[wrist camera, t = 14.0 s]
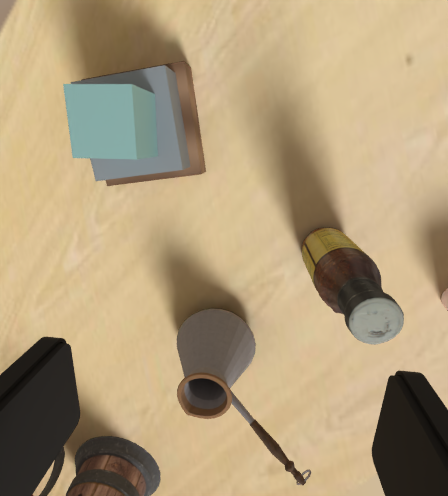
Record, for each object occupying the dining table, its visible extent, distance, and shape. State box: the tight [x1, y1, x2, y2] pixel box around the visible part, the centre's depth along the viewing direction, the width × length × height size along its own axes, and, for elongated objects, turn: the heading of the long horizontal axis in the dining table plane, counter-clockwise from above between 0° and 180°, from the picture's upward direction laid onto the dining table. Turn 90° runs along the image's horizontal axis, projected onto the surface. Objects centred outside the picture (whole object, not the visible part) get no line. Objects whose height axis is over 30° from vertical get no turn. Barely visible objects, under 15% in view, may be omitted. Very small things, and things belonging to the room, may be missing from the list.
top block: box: [71, 65, 190, 181], centre depth 35 cm, size 10×10×4 cm
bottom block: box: [82, 61, 206, 186], centre depth 39 cm, size 12×12×4 cm
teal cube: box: [63, 84, 158, 160], centre depth 31 cm, size 6×6×6 cm
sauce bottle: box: [302, 228, 404, 344], centre depth 33 cm, size 7×6×20 cm
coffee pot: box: [177, 308, 311, 485], centre depth 42 cm, size 21×12×15 cm, turn 51°
